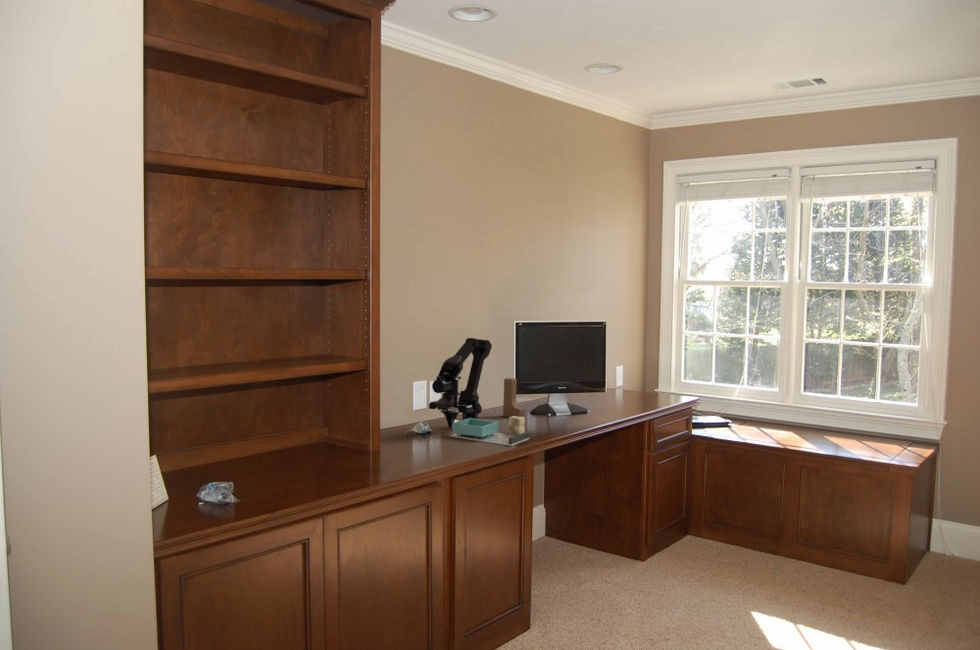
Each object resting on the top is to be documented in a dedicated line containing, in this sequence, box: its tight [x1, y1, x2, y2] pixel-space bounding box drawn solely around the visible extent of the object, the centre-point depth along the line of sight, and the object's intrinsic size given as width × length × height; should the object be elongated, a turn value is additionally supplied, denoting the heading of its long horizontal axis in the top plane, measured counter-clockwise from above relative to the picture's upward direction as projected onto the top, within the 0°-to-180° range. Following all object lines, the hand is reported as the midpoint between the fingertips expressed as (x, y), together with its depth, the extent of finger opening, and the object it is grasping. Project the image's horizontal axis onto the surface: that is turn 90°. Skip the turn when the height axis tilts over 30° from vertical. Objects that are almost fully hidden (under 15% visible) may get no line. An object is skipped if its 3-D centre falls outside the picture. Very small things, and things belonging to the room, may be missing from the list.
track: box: [448, 431, 531, 447], centre depth 312 cm, size 29×16×3 cm, turn 61°
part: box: [508, 416, 526, 435], centre depth 321 cm, size 5×5×7 cm
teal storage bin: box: [451, 418, 500, 437], centre depth 315 cm, size 14×14×5 cm
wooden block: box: [502, 377, 525, 418], centre depth 360 cm, size 9×4×18 cm, turn 56°
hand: (450, 427), depth 321 cm, fingers closed
